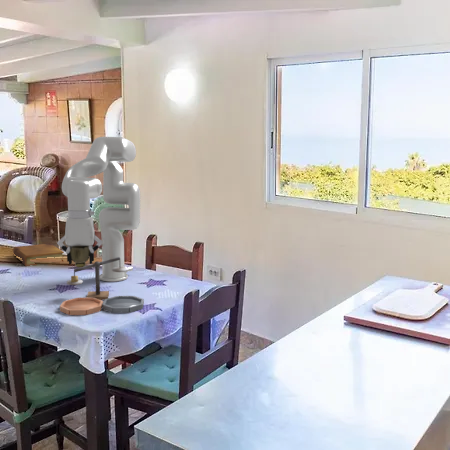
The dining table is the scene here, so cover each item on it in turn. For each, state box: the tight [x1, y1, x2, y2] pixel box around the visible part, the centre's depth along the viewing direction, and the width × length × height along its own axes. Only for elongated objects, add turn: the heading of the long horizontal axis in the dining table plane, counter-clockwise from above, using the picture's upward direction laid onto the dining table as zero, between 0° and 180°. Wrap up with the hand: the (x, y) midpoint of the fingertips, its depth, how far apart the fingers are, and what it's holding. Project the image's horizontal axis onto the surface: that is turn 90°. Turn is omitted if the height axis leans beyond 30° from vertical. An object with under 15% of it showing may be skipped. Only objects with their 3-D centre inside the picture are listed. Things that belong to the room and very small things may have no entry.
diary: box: [12, 242, 65, 267], centre depth 269 cm, size 23×19×6 cm
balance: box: [66, 257, 129, 301], centre depth 208 cm, size 23×8×16 cm, turn 99°
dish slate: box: [101, 295, 145, 314], centre depth 199 cm, size 15×15×2 cm
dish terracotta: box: [59, 297, 104, 316], centre depth 196 cm, size 15×15×2 cm
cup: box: [69, 246, 90, 268], centre depth 193 cm, size 8×7×8 cm
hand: (80, 262), depth 193 cm, fingers closed on cup, 6 cm apart
